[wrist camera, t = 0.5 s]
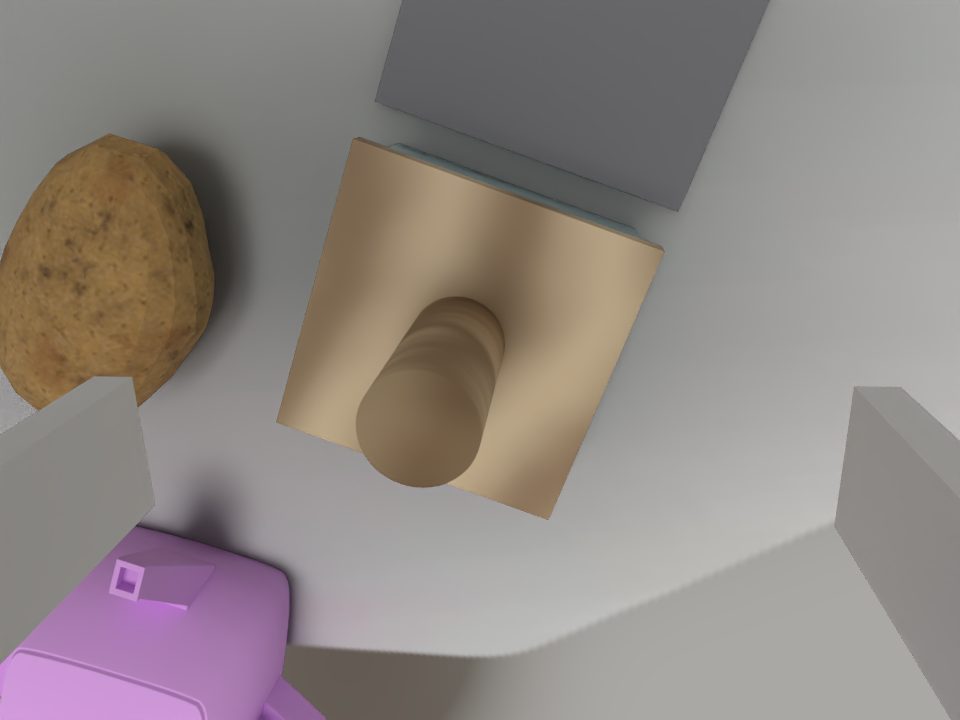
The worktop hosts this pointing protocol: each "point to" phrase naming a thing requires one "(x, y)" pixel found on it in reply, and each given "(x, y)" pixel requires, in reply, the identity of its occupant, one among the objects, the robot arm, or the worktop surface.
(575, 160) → the mat
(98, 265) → the potato
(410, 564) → the worktop surface
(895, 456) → the robot arm
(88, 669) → the teakettle
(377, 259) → the lid
